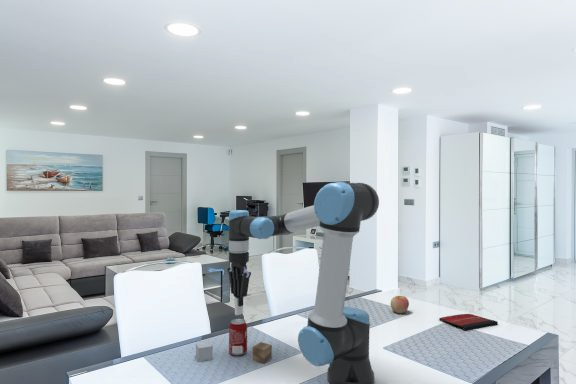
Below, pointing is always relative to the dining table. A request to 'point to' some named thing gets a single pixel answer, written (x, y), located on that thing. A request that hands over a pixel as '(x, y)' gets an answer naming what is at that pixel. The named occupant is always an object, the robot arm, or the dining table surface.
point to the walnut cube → (262, 352)
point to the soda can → (238, 337)
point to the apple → (399, 304)
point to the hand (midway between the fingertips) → (238, 313)
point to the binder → (468, 321)
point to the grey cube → (204, 351)
